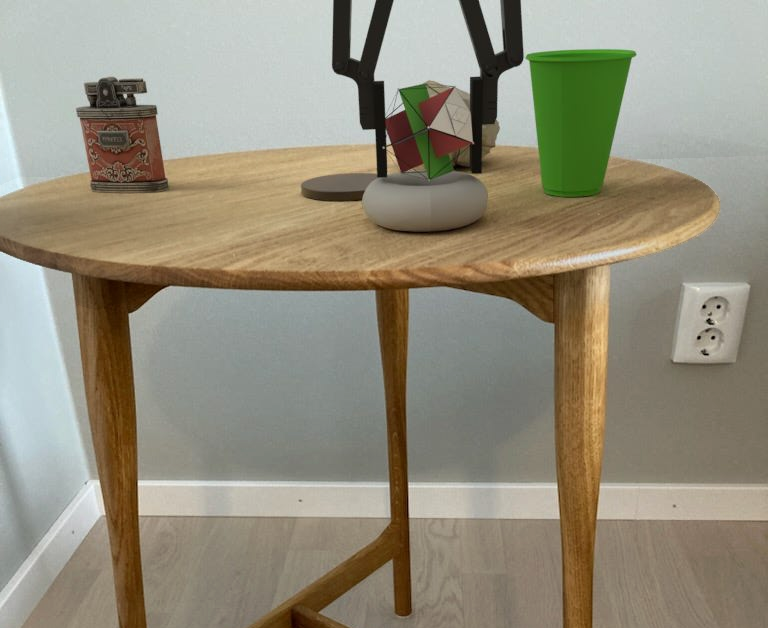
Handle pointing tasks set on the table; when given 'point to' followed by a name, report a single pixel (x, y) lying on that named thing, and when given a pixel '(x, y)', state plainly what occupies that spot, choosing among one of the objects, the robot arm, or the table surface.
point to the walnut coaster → (338, 186)
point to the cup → (577, 115)
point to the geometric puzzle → (429, 129)
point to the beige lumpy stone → (487, 130)
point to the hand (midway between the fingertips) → (428, 171)
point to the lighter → (121, 138)
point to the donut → (425, 201)
